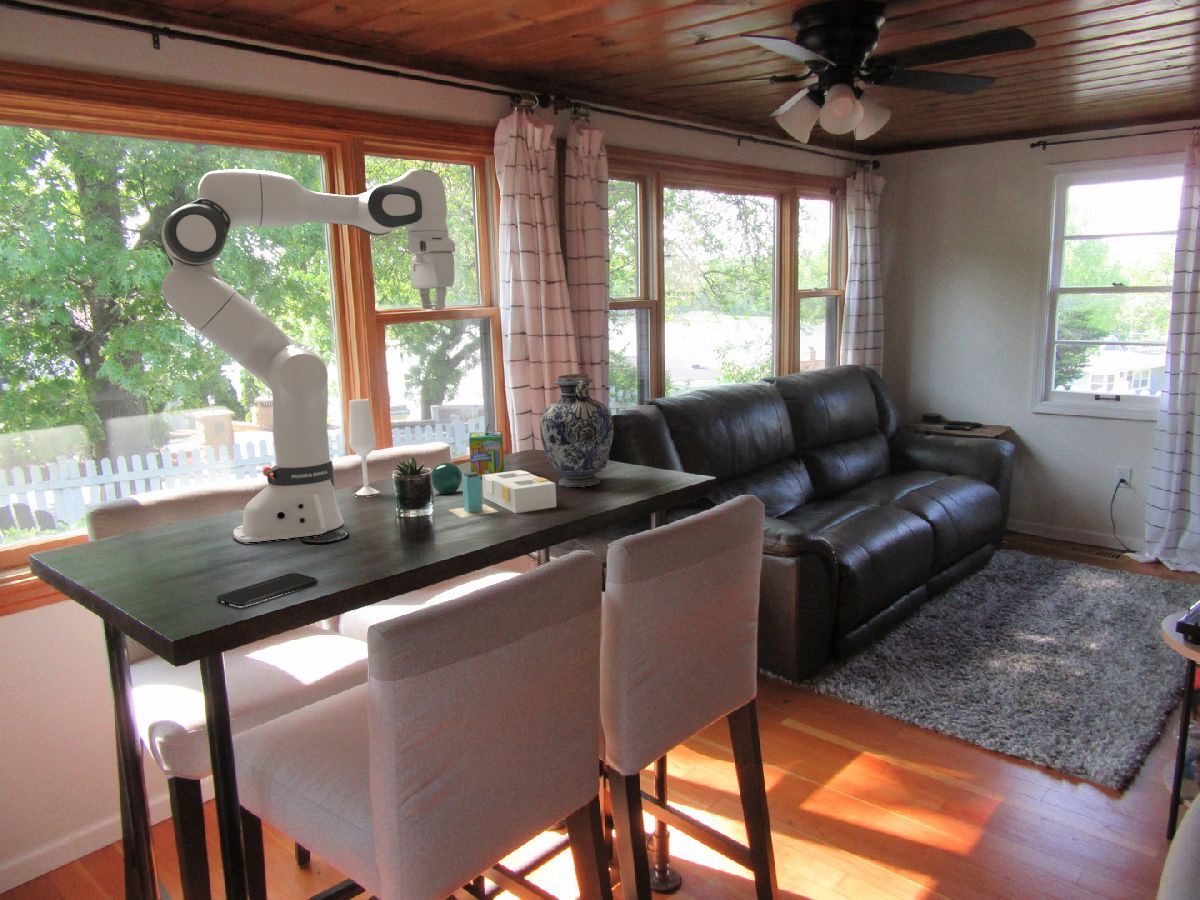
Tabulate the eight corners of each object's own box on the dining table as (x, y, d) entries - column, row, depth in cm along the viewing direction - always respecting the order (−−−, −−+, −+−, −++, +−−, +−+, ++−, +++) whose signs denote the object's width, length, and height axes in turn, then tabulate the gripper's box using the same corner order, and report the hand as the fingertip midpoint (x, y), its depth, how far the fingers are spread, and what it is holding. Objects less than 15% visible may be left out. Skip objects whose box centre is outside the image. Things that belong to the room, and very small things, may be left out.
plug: (469, 513, 195) (466, 475, 193) (464, 510, 197) (461, 473, 196) (482, 511, 196) (480, 473, 195) (477, 508, 199) (475, 471, 197)
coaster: (461, 520, 191) (461, 517, 191) (447, 512, 199) (447, 509, 199) (499, 514, 195) (499, 511, 195) (484, 506, 203) (484, 504, 203)
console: (514, 515, 193) (513, 488, 192) (482, 499, 210) (480, 474, 209) (556, 509, 198) (555, 482, 197) (521, 493, 215) (520, 468, 214)
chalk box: (471, 473, 245) (468, 420, 242) (504, 471, 246) (501, 419, 243) (470, 479, 236) (466, 425, 233) (504, 477, 236) (501, 423, 234)
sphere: (425, 493, 220) (423, 462, 218) (454, 488, 224) (452, 458, 223) (440, 498, 213) (438, 466, 212) (469, 493, 218) (467, 462, 217)
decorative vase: (625, 487, 217) (620, 375, 212) (552, 495, 212) (545, 381, 208) (604, 472, 237) (598, 370, 233) (537, 479, 233) (530, 375, 228)
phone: (320, 579, 151) (240, 604, 139) (320, 585, 151) (241, 611, 139) (293, 572, 155) (213, 596, 143) (293, 578, 155) (214, 602, 144)
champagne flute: (376, 496, 219) (368, 401, 215) (349, 497, 219) (341, 402, 215) (383, 490, 225) (376, 398, 221) (357, 491, 226) (349, 399, 221)
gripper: (402, 249, 201) (406, 309, 203) (429, 242, 183) (434, 309, 186) (428, 249, 204) (432, 308, 206) (458, 242, 186) (462, 308, 189)
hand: (433, 309), depth 196 cm, fingers open, 8 cm apart
